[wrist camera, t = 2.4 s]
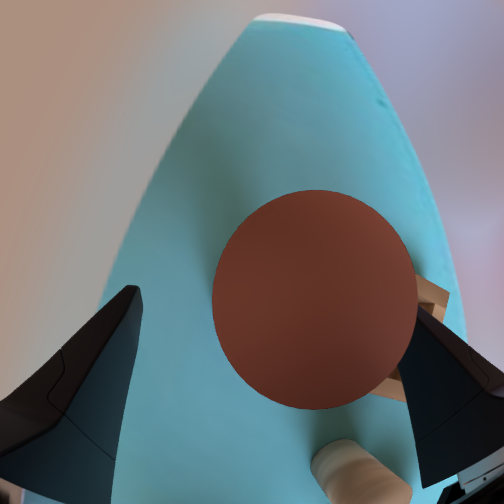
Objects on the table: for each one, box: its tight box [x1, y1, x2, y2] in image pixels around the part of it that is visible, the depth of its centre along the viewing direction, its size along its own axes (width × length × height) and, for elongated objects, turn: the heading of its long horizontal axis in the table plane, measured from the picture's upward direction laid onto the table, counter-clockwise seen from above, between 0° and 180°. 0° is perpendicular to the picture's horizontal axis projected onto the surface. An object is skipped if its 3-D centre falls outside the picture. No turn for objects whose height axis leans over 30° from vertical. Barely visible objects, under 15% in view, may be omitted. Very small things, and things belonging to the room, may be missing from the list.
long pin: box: [212, 190, 418, 410], centre depth 11 cm, size 4×4×13 cm
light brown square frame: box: [369, 273, 450, 402], centre depth 17 cm, size 8×8×3 cm
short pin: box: [311, 439, 412, 504], centre depth 13 cm, size 4×4×7 cm
